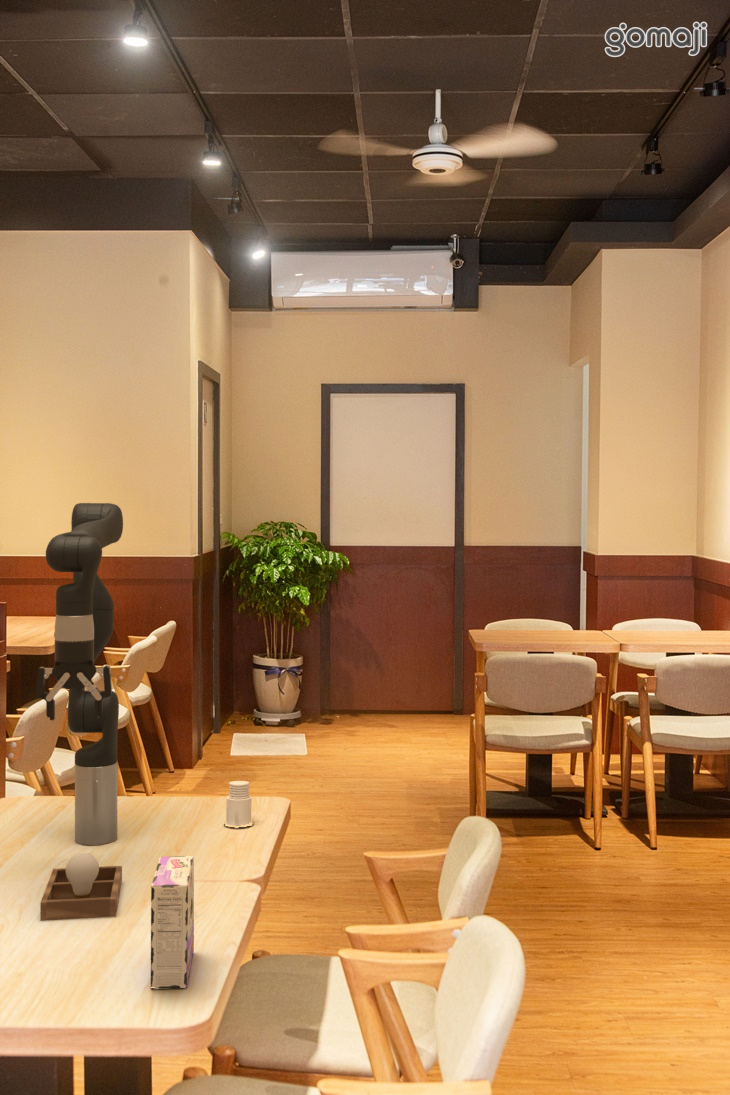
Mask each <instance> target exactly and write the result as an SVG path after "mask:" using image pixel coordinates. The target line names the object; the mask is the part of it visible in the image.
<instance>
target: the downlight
mask: <svg viewBox="0 0 730 1095" xmlns="http://www.w3.org/2000/svg"><path fill="white" fill-rule="evenodd" d="M228 785H229V786H228V795H227V796H226V800H225V801H226V802H225V804H226V807H225V808H226V809H225V810H226V812H225V813H226V817H225V819H226V821H225V822H226V823H227V824H228V825H233V826H241V825H246V824H249V823H250V822H251V821H252V796H251V795H250V782H249V781H246V780H234V781H230V782H229V784H228Z"/></svg>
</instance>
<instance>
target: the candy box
mask: <svg viewBox="0 0 730 1095" xmlns="http://www.w3.org/2000/svg"><path fill="white" fill-rule="evenodd" d="M194 860H195V859H194V855H179V856H178V855H177V856H160V857H159V859H158V862H157V866H156V870H155V873H154V875H153V876H154V877H153V879H152V882H151V886H150V895H151V896H150V988H151V987H155V988H186V987H187V988H188V986H189V978H190V973H191V970H192V969H191V966H192V962H193V956H194V950H195V945H194V944H195V935H194V934H195V901H194V900H195V898H194V897H195V894H194V893H195V875H194V874H195V868H194V867H195V865H194V864H195V863H194V862H195V861H194ZM187 988H186V989H187Z"/></svg>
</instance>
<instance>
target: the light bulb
mask: <svg viewBox="0 0 730 1095" xmlns="http://www.w3.org/2000/svg"><path fill="white" fill-rule="evenodd" d="M99 865H100V864H99V861H98V859H97V858H96V857H95V856H94V855H93V854H91V853H89V852H86V851H85V852H77V853H75V854H74V855H72V856H71V857H70V858H69V859H68V861H67V863H66V865H65V868H66V876H67V878H68V880H69V881H70V883H71V885H72V888H73V892H74V896H75V897H74V898H75V899H80V898H89V897H90V891H91V889H92V885H93V882H94V880H95V879H96V877H97V875H98V872H99V867H100V866H99Z"/></svg>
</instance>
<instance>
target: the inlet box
mask: <svg viewBox="0 0 730 1095" xmlns="http://www.w3.org/2000/svg"><path fill="white" fill-rule="evenodd" d="M122 884H123V866H122V865H110V866H109V865H108V866H107V865H106V866H99V872H98V875H97V877H96V879H95V880H94V882H93V885H92V889H91V891H90V897H89V898H80V899H75V898H74V897H75V896H74V892H73V888H72V885H71V883H70V882H68V878H67V876H66V867H64V868H62V867H61V868H52V870H51V873H50V876H49V879H48V882H47V884H46V886H45V890H44V891H43V892H44V893H43V895H42V897H41V900H40V903H39V904H40V905H39V906H40V909H39V910H40V917H39V918H40V921H60V920H61V921H62V920H76V919H96V918H97V919H98V918H99V919H100V918H112V917H113V918H116V916H117V912H118V906H119V901H120V895H121V889H122Z"/></svg>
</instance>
